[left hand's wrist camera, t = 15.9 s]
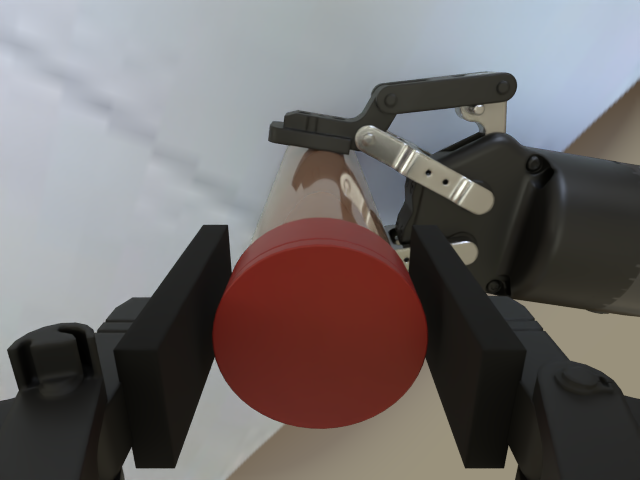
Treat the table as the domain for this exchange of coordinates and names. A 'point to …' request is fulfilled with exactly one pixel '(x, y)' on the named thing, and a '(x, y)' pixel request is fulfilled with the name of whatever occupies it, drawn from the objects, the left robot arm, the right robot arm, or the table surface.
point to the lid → (320, 325)
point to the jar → (319, 191)
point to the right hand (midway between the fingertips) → (266, 184)
